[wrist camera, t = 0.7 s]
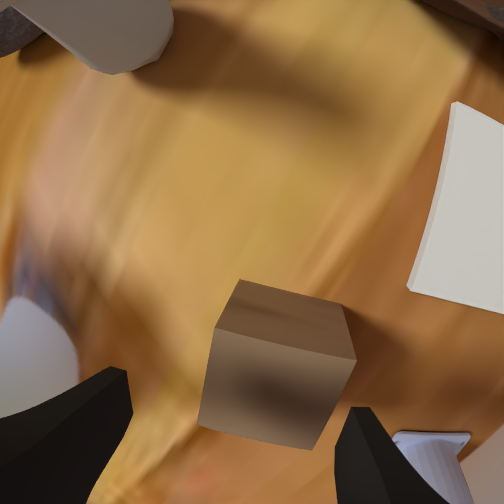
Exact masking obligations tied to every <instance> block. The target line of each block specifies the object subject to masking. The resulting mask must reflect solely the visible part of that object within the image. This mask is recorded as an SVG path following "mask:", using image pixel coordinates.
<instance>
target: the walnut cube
mask: <svg viewBox="0 0 504 504" xmlns="http://www.w3.org/2000/svg"><path fill="white" fill-rule="evenodd" d="M356 362H357V359H356V355H355V351H354V348H353V344H352V340H351V337H350V333H349V330H348V326H347V323H346V319H345V316H344V312H343V309H342V306H341V304H339V303H335V302H331V301H326V300H322V299H318V298H314V297H310V296H305V295H301V294H297V293H293V292H289V291H285V290H281V289H277V288H273V287H269V286H265V285H261V284H257V283H253V282H249V281H245V280H241V279H239V281H238V283H237V285H236V287H235V289H234V291H233V293H232V295H231V297H230V299H229V301H228V302H227V304H226V306H225V308H224V310H223V312H222V314H221V316H220V318H219V320H218V322H217V324H216V326H215V328H214V333H213V338H212V344H211V349H210V354H209V360H208V365H207V371H206V376H205V381H204V387H203V392H202V398H201V404H200V409H199V415H198V421H197V425H200V426H203V427H206V428H210V429H214V430H217V431H221V432H225V433H228V434H232V435H236V436H240V437H245V438H249V439H253V440H258V441H262V442H267V443H272V444H277V445H282V446H288V447H294V448H300V449H306V450H312V449H313V448H314V446H315V444H316V442H317V440H318V439H319V437H320V435H321V433H322V431H323V429H324V427H325V426H326V424H327V422H328V420H329V418H330V416H331V414H332V412H333V410H334V408H335V406H336V404H337V402H338V400H339V398H340V396H341V394H342V392H343V390H344V388H345V386H346V384H347V381H348V379H349V377H350V375H351V373H352V371H353V368H354V366H355V364H356Z"/></svg>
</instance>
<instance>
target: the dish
mask: <svg viewBox="0 0 504 504" xmlns="http://www.w3.org/2000/svg"><path fill="white" fill-rule="evenodd" d="M422 1H423V2H425V3H427V4H429V5H431V6H433V7H435V8H436V9H438V10H440V11H442V12H444V13H446V14H448V15H451V16H453V17H455V18H457V19H460V20H462V21H465V22H467V23H470V24H472V25H475V26H478V27H480V28H483V29H486V30H488V31H491V32H493V33H494V34H495V35H496V36H498V38H499V39H500V40H501V41H502V42H503V43H504V0H422Z"/></svg>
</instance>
